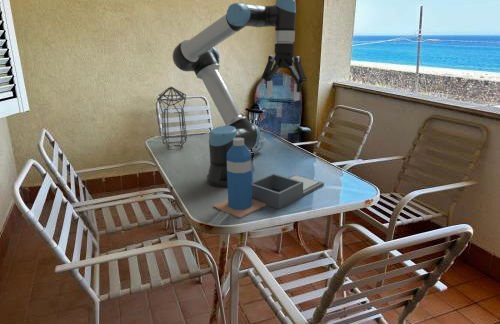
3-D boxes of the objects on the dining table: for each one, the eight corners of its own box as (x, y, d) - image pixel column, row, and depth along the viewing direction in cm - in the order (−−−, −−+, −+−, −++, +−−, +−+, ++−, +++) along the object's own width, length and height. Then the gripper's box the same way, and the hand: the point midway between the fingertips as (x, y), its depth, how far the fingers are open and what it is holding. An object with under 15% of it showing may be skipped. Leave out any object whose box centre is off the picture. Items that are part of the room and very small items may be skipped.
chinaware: (233, 151, 200) (232, 138, 198) (254, 147, 209) (254, 134, 206) (249, 158, 189) (249, 143, 186) (271, 152, 198) (271, 139, 195)
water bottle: (223, 207, 131) (220, 141, 123) (233, 197, 139) (231, 134, 131) (247, 211, 128) (246, 143, 120) (256, 201, 136) (255, 137, 128)
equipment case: (248, 198, 140) (248, 183, 138) (294, 177, 162) (295, 164, 160) (279, 209, 131) (279, 193, 129) (323, 185, 152) (324, 171, 150)
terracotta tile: (213, 206, 133) (213, 205, 133) (239, 195, 143) (239, 194, 143) (240, 218, 124) (240, 216, 124) (266, 205, 134) (266, 203, 134)
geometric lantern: (189, 143, 218) (186, 84, 207) (188, 151, 204) (185, 88, 192) (162, 144, 216) (157, 85, 205) (160, 152, 202) (154, 89, 190)
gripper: (317, 43, 132) (314, 101, 139) (265, 42, 148) (264, 94, 155) (306, 42, 127) (303, 103, 133) (253, 42, 143) (253, 96, 149)
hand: (282, 98), depth 144 cm, fingers open, 13 cm apart
